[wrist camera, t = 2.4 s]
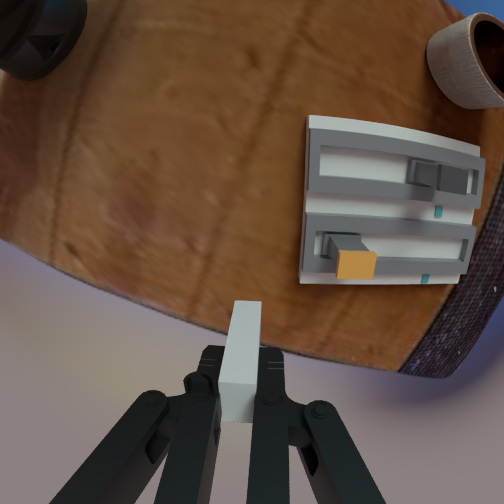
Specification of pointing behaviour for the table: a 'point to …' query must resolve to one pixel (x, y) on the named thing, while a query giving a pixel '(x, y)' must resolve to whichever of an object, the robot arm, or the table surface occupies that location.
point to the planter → (470, 61)
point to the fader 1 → (349, 255)
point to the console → (386, 201)
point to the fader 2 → (439, 176)
